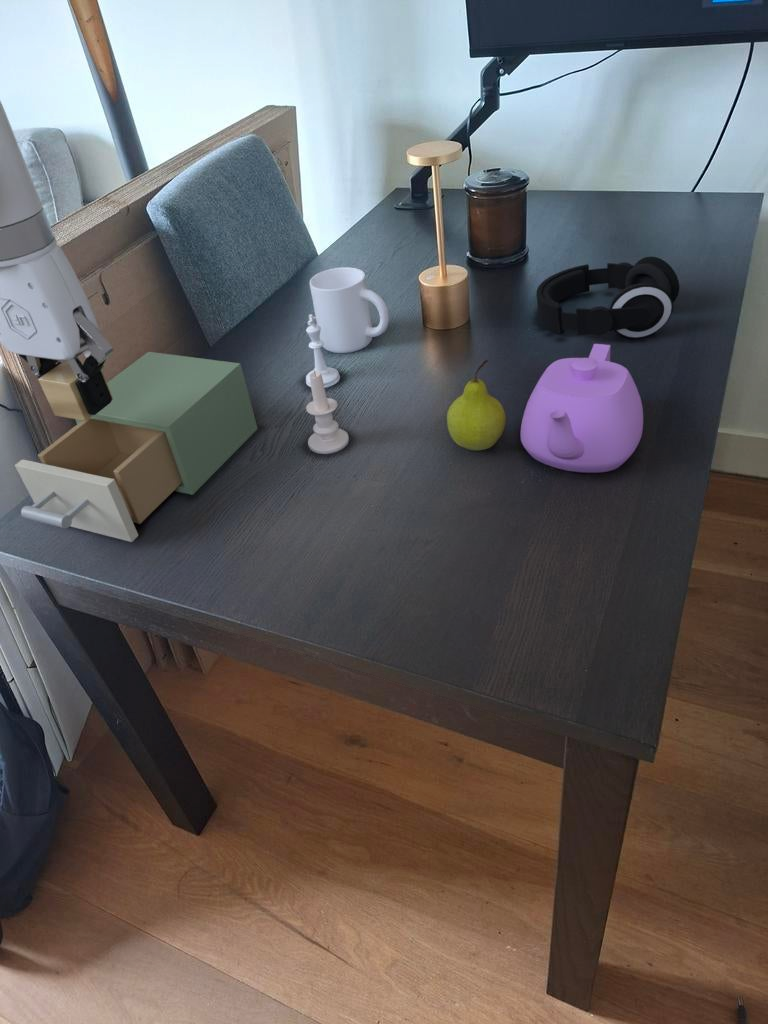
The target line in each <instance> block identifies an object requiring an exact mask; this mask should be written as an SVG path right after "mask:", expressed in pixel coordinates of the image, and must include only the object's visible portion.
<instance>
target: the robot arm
mask: <svg viewBox="0 0 768 1024" xmlns="http://www.w3.org/2000/svg"><path fill="white" fill-rule="evenodd" d="M96 318H97V317H96V316H95V313H94V310H93V308H92V306H91V303H90V301H89V299H88V297H87V295H86V292H85V290H84V288H83V286H82V284H81V282H80V279H79V278H78V276H77V274H76V272H75V270H74V268H73V267H72V265H71V263H70V261H69V259H68V257H67V255H66V254H65V252H64V251H63V249H62V247H61V246H60V245H58V241H57V239H56V236H55V234H54V231H53V228H52V226H51V224H50V221H49V219H48V217H47V214H46V211H45V209H44V207H43V203H42V201H41V198H40V196H39V194H38V191H37V188H36V186H35V184H34V180H33V178H32V176H31V174H30V171H29V168H28V166H27V163H26V160H25V158H24V155H23V153H22V150H21V148H20V146H19V143H18V140H17V138H16V136H15V133H14V130H13V128H12V125H11V123H10V121H9V118H8V115H7V112H6V110H5V108H4V105H3V104H2V101H1V100H0V343H1V346H2V347H3V348H4V349H5V350H7V351H8V352H10V353H12V354H16V355H18V356H19V357H20V358H22V359H23V360H24V361H25V362H26V363H27V364H28V367H29V370H30V372H31V373H32V374H33V375H34V376H37V380H38V379H39V378H40V377H42V376H43V375H45V374H46V373H48V372H49V371H51V370H52V369H54V368H55V367H56V366H58V365H59V364H61V363H62V362H64V361H67V362H68V364H69V365H70V367H71V368H72V370H73V372H74V373H75V375H76V377H77V378H78V381H77V382H76V383H75V384H76V386H77V388H78V391H79V393H80V395H81V398H82V400H83V402H84V405H85V407H86V409H87V412H88V414H90V415H96V414H97V413H98V412H99V411H101V410H102V409H103V408H105V407H106V406H107V405H108V404H110V403H111V401H112V397H111V395H110V392H109V390H108V387H107V385H106V382H107V381H106V382H105V380H106V379H105V380H104V377H105V376H104V377H103V375H104V374H103V375H102V372H103V370H104V368H105V367H104V364H105V362H106V360H107V359H108V358H109V356H111V354H112V353H113V352H114V347H113V345H112V344H111V343H110V342H109V341H108V340H107V339H106V337H104V335H103V334H102V333H101V332H100V328H99V325H98V324H99V323H98V321H97V319H96ZM82 354H83V355H84V357H85V359H84V361H85V362H84V364H83V365H82V363H81V362H80V358H79V356H81V355H82ZM58 361H59V362H58ZM60 361H62V362H60ZM101 370H102V372H101Z"/></svg>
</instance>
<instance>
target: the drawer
mask: <svg viewBox="0 0 768 1024" xmlns="http://www.w3.org/2000/svg"><path fill="white" fill-rule="evenodd" d="M37 457H38V458H39V460H40V462H36V461H32V460H27V459H23V458H22V459H21V460H19V461H18V462H17V463H15V464H14V467H15V469H16V471H17V472H18V475H19V476H20V479H21V480H22V482H23V484H24V486H25V488H26V490H27V492H28V494H29V495H30V497H31V499H32V501H33V504H32V505H24V506H22V508H21V510H20V515H21V517H22V518H24V519H27V520H31V521H34V522H38V523H41V524H46V525H49V526H54V527H57V528H61V529H64V530H65V529H68V528H70V527H71V528H75V529H79V530H83V531H87V532H91V533H93V534H98V535H102V536H105V537H106V536H107V537H110V538H115V539H118V540H122V541H126V542H130V543H133V542H134V541H135V540H136V539H137V538H138V537H139V533H138V531H137V529H136V526H135V524H139V525H140V524H142V523H143V522H144V521H145V520H146V519H147V518H148V517H149V516H150V515H151V514H152V513H153V512H154V511H155V510H156V509H157V508H158V507H159V506H160V505H161V504H162V503H163V502H164V501H165V500H166V499H167V498H168V497H169V496H170V495H171V494H172V493H173V492H175V491H174V490H175V489H176V488H177V487H178V486H179V485H180V484H181V483H182V482H183V481H182V478H181V476H180V473H179V470H178V467H177V464H176V462H175V459H174V456H173V453H172V450H171V447H170V445H169V442H168V439H167V436H166V433H165V432H163V431H157V430H152V429H146V428H141V427H135V426H129V425H124V424H118V423H113V422H107V421H102V420H96V419H90V418H89V419H88V420H86V421H81V422H80V423H79V424H77V423H76V425H75V426H73V427H71V429H69V430H68V431H67V432H66V433H64V434H63V435H62V436H60V437H59V438H57V440H55V441H54V442H53V443H51V444H50V445H49V446H47V447H46V448H45V449H43V450H42V451H41V452H40V453H38V454H37ZM134 523H135V524H134Z"/></svg>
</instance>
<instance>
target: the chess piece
mask: <svg viewBox="0 0 768 1024" xmlns="http://www.w3.org/2000/svg"><path fill="white" fill-rule="evenodd" d="M315 322H316V316H314V314H309V315H308V321H307V326H308V327H307V328H306V329H305V332H306V334H307V335H308V337H309V339H310V341H309V343H308V348H309V349H313V357H314V368H313V370H310V371H309V372H308V373H307V374H306V376H305V383H306V385H307V386H308V387H310V388H311V383H310V374H311V373H313V372H314V370H315V371H320V372H321V375H322V379H323V383H324V388H325V389H327V388H330V387H332V386H334V385H336V384H338V382H340V379H341V375H340V373H339V371H338V370H337V369H336V368H334V367H329V366H327V363H326V361H325V358H324V355H323V351H322V348H323V345H324V343H323V341H321V340H320V331H321V328H320V326H318V325H317V324H315Z"/></svg>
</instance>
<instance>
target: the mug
mask: <svg viewBox="0 0 768 1024" xmlns="http://www.w3.org/2000/svg"><path fill="white" fill-rule="evenodd" d="M309 289H310V293H311V294H310V295H311V299H312V304H313V311H314V317H316V320H315V322H316V325H318V326H320V328H321V331H320V338H319V340H321V341H323V343H324V345H323V346H322V348H323V349H324V350H326V351H327V352H329V353H334V354H350V353H354V352H358V351H360V350H363V349H364V348H366V347H368V345H370V344H371V342H372V340H373V338H375V337H379V336H382V334H384V333H385V332H386V331H387V328H388V327H389V320H390V316H389V310H388V307H387V305H386V303H385V301H384V300H383V298H382V297H381V296H380V294H378V293H376V292H375V291H374V290H371V289H368V285H367V277H366V273H365V271H363V270H362V269H361V268H360V269H359V268H357V267H351V266H349V267H348V266H343V267H342V266H341V267H334V268H330V269H326V270H322V271H320V272H317V273H316V274H314V275H313V276H312V277H311V278H310V279H309ZM370 303H372V304H373V305H374V306H375V307H376V309H377V311H378V314H379V323H378V325H377V326H373V322H372V316H371V307H370Z"/></svg>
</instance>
